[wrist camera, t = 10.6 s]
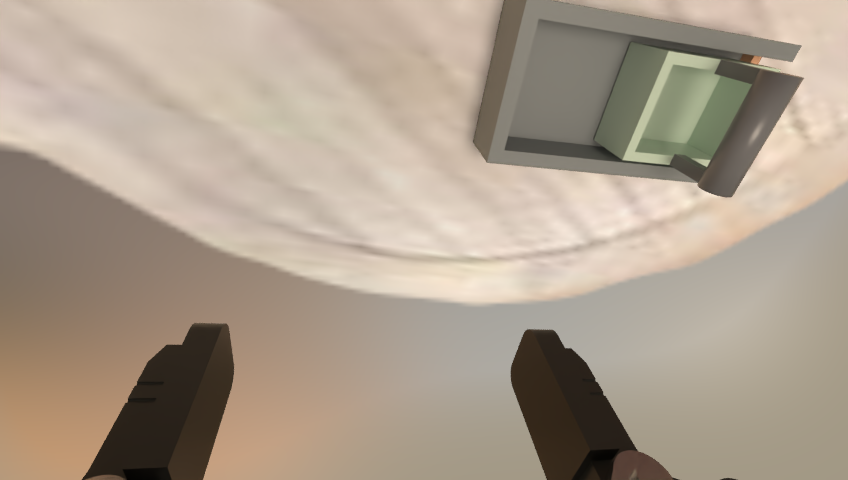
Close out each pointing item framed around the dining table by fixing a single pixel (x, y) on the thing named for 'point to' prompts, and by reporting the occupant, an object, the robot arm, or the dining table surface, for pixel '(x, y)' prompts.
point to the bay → (579, 82)
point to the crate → (694, 113)
